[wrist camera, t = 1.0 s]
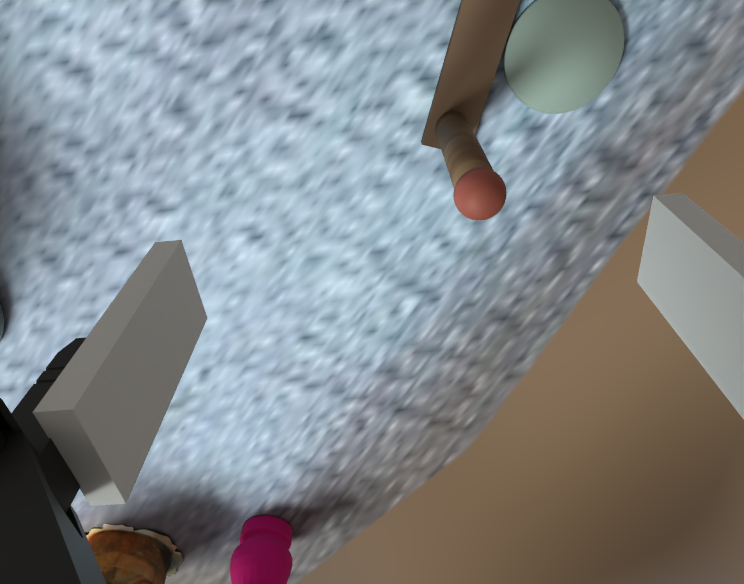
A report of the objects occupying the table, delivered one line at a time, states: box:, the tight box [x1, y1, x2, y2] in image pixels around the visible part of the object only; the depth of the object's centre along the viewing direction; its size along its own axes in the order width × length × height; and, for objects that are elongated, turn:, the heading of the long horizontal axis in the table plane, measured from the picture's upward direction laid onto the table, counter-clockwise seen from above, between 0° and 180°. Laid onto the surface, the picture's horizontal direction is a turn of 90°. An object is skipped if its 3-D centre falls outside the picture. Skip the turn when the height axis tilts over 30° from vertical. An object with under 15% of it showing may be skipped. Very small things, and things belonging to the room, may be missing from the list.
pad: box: [504, 0, 624, 114], centre depth 37 cm, size 8×8×1 cm
